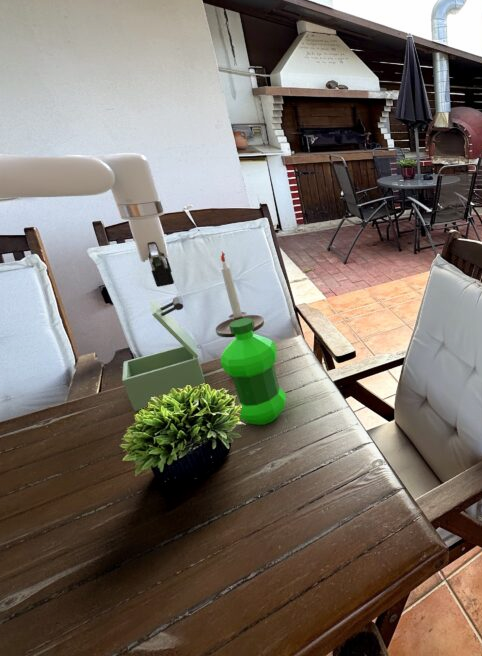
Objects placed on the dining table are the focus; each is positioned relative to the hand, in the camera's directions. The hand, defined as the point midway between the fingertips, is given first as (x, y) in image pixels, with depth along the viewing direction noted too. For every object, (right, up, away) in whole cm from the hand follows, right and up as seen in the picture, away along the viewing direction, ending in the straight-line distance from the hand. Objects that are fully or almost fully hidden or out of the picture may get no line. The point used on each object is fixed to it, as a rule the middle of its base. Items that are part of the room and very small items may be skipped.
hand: (164, 279), depth 97 cm
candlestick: (+11, -26, +15) cm, 32 cm away
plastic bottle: (+27, -33, -3) cm, 42 cm away
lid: (-1, -13, +4) cm, 13 cm away
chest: (-4, -29, +7) cm, 30 cm away
